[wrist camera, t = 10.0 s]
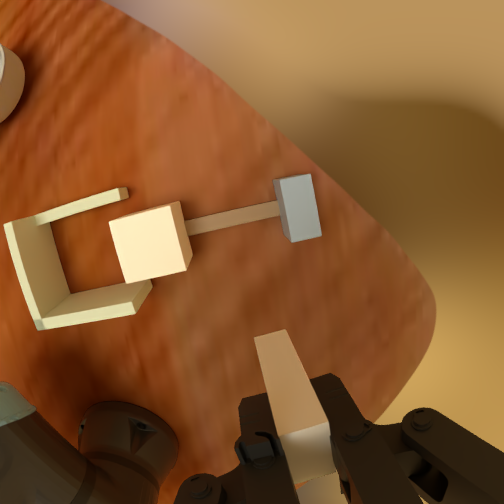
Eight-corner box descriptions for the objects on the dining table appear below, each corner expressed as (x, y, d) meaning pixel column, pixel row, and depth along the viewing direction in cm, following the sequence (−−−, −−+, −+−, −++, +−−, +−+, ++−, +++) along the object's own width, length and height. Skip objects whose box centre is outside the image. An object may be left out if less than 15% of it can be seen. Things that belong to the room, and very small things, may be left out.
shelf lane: (66, 304, 35) (37, 330, 28) (39, 215, 32) (3, 224, 25) (152, 286, 35) (135, 313, 28) (126, 187, 33) (101, 190, 25)
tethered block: (141, 267, 35) (126, 283, 29) (127, 214, 33) (108, 221, 27) (310, 228, 35) (326, 238, 29) (300, 174, 34) (314, 173, 28)
